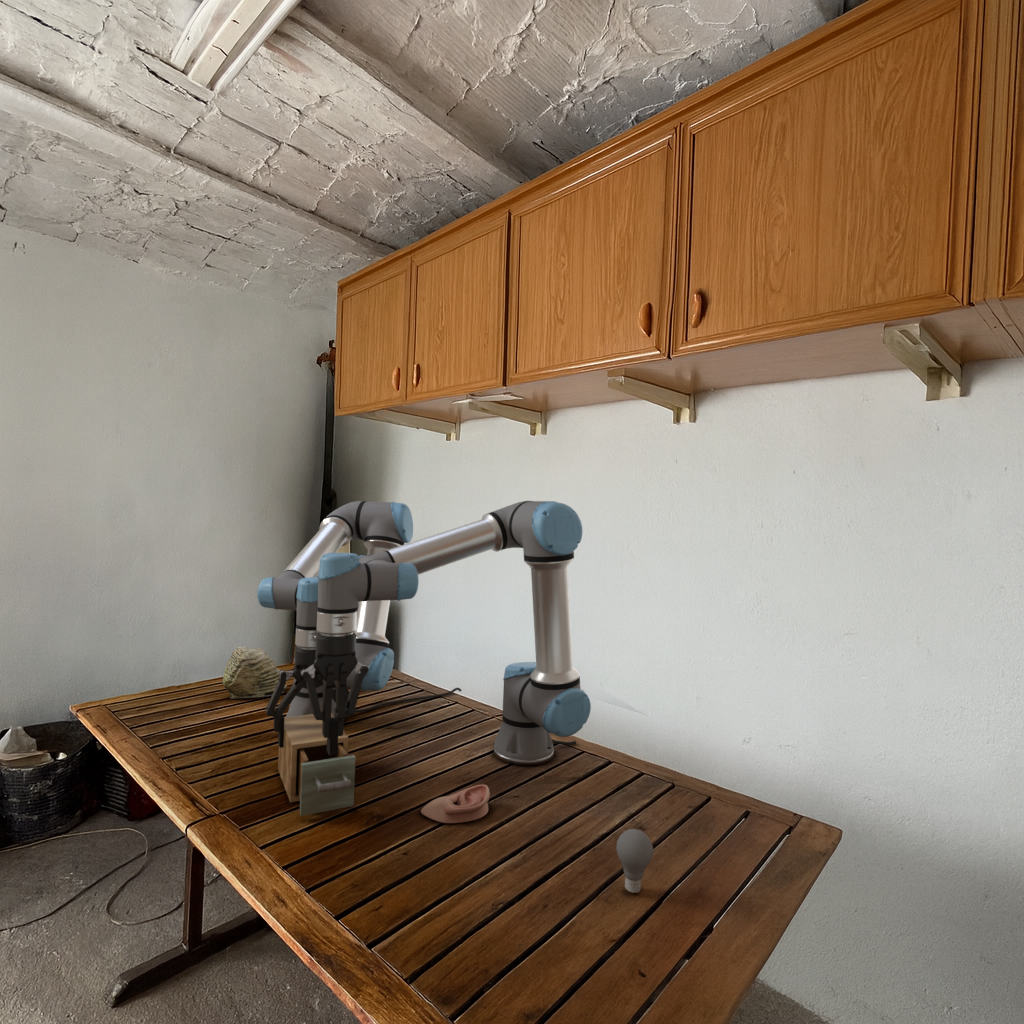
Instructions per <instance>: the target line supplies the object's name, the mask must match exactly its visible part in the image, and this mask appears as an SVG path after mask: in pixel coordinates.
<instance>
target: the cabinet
mask: <svg viewBox="0 0 1024 1024" xmlns="http://www.w3.org/2000/svg"><path fill="white" fill-rule="evenodd" d="M332 717H334V716H333V714H332V713H331V718H332ZM322 723H323V721H322V720H316V719H315V717H314V715H313V714H310V715H302V716H293V717H286V716H284V744H283V747H281V748H280V747H279V746H278V759H277V760H278V761H277V762H278V765H277V771H278V773H279V777H280V779H281V781H282V784H283V787H284V790H285V792H286V795H287V798H288V800H289V803H298V802H300V798H299V795H298V793H297V790H296V768H297V749H300V748H307V747H314V746H321V745H327V738H324V736H323V734H322ZM338 743H340V744H341V745H342V747H343V748H344V750H345V751H346V753H347V756H349V736H348V735H347V733H346V732H345V730H343V735H342V736H338Z"/></svg>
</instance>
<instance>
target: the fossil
mask: <svg viewBox="0 0 1024 1024" xmlns="http://www.w3.org/2000/svg"><path fill="white" fill-rule="evenodd" d="M280 670H281V669H279V668H278V667H277V665H276V663H275V662H274V660H273V659H272V658H271V657H270V656H269V655H268V654H267V653H266V652H265V650H264V649H263V648H260V647H258V648H251V647H247V646H246V647H245V646H238V647H237V648H236V649H235V650H233V651H232V653H231V656H230V657H229V659H228V660H227V663H226V666H225V668H224V671H223V675H222V676H223V677H222V685H223V687H224V688H225V690H226V691H228V693H229V698H230V699H250V698H264V697H271V696H272V694H273V692H274V689H275V687H276V685H277V683H278V680H279V671H280ZM287 687H288V686H287V683H286V684H285V687H284V689H283V691H282V694H284V693H285V691H286V689H287Z"/></svg>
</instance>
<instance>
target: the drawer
mask: <svg viewBox="0 0 1024 1024" xmlns="http://www.w3.org/2000/svg"><path fill="white" fill-rule="evenodd" d="M355 779H356V755H354V754H351V755H348V756H347V753H346V751H345V750H344V748H343V747H342V745H341V744H340V743H338V753H337V755H333V756H329V754H328V752H327V745H321V746H314V747H307V748H300V749H297V768H296V790H297V793H298V795H299V798H300V801H299V815H300V817H305V816H309V815H314V814H320V813H325V812H330V811H335V810H339V809H344V808H345V809H346V808H351V807H354V806H355Z"/></svg>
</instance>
